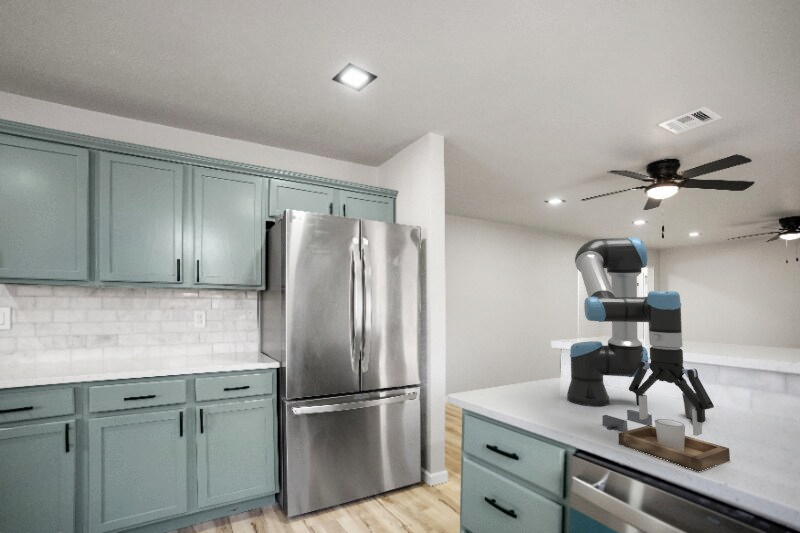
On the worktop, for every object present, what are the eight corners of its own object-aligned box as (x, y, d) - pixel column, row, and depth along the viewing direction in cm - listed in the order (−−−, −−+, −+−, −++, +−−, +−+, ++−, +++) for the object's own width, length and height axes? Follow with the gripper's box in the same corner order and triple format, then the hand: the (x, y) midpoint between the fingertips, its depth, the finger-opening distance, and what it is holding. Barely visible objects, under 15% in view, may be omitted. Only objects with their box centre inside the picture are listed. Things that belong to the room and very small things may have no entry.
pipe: (686, 423, 127) (685, 399, 128) (682, 413, 138) (680, 390, 139) (710, 427, 124) (708, 401, 125) (703, 416, 135) (702, 393, 136)
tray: (618, 444, 110) (618, 433, 110) (649, 435, 116) (648, 425, 117) (699, 472, 92) (698, 459, 92) (729, 460, 99) (729, 448, 99)
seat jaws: (598, 426, 125) (598, 416, 125) (634, 417, 133) (634, 408, 134) (619, 432, 119) (619, 422, 119) (655, 423, 127) (655, 414, 128)
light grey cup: (659, 451, 103) (657, 424, 103) (653, 442, 109) (652, 417, 109) (690, 455, 100) (688, 427, 100) (682, 446, 106) (681, 420, 107)
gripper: (613, 342, 116) (616, 414, 115) (711, 355, 94) (716, 445, 92) (629, 340, 119) (632, 410, 118) (727, 352, 97) (731, 439, 96)
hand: (669, 426), depth 105 cm, fingers open, 13 cm apart
